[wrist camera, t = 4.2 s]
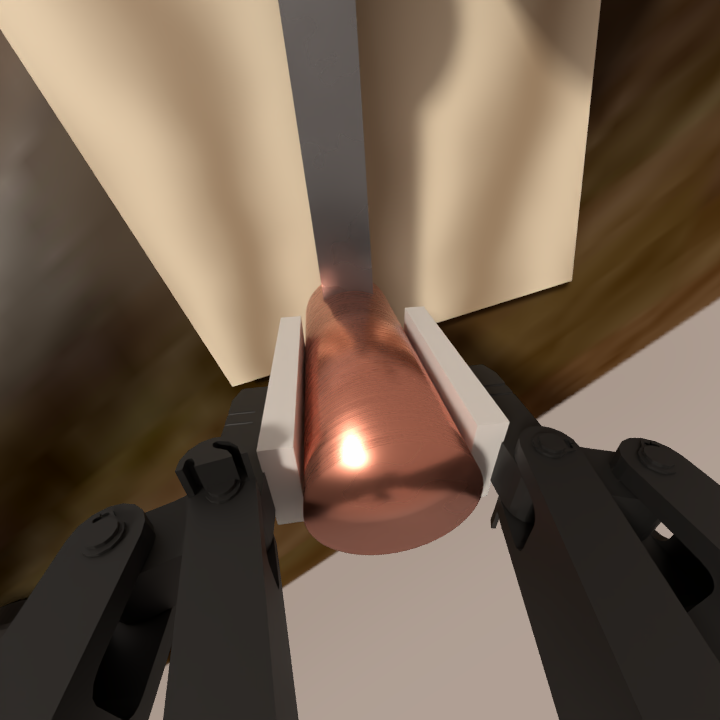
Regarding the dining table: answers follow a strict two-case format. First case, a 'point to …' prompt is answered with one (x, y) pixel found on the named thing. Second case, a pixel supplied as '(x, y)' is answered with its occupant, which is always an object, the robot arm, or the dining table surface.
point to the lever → (361, 331)
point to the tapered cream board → (284, 160)
